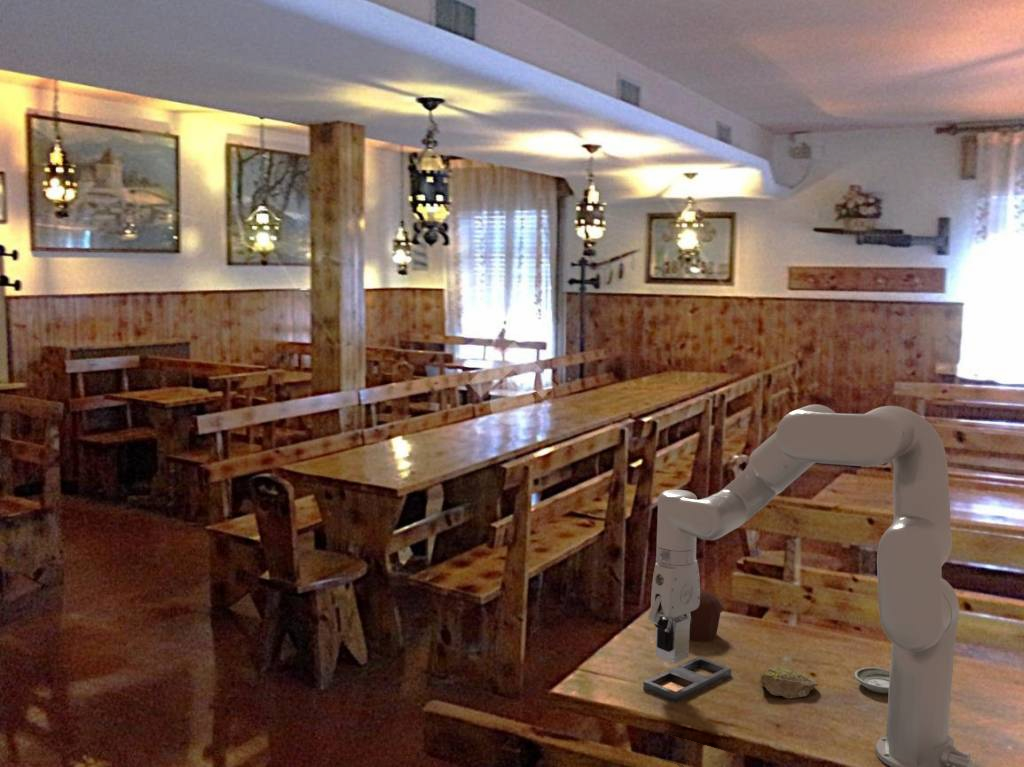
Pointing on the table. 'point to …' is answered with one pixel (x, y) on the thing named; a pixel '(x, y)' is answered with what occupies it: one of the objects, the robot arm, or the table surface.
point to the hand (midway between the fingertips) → (672, 644)
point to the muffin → (705, 617)
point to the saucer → (874, 679)
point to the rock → (787, 682)
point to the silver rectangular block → (677, 640)
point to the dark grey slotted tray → (686, 679)
